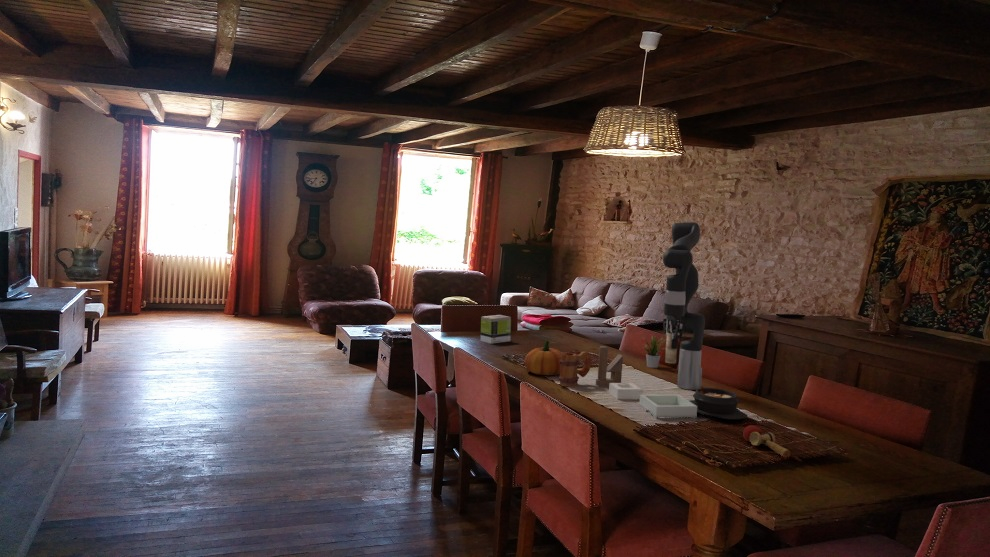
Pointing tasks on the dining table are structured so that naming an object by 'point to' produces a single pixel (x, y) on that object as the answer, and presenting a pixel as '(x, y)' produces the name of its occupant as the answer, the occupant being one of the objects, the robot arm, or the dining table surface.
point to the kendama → (763, 439)
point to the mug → (573, 368)
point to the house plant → (653, 352)
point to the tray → (668, 406)
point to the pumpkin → (544, 361)
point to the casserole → (717, 403)
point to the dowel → (670, 350)
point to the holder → (624, 390)
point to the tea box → (495, 329)
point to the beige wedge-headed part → (608, 368)
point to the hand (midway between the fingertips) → (671, 347)
